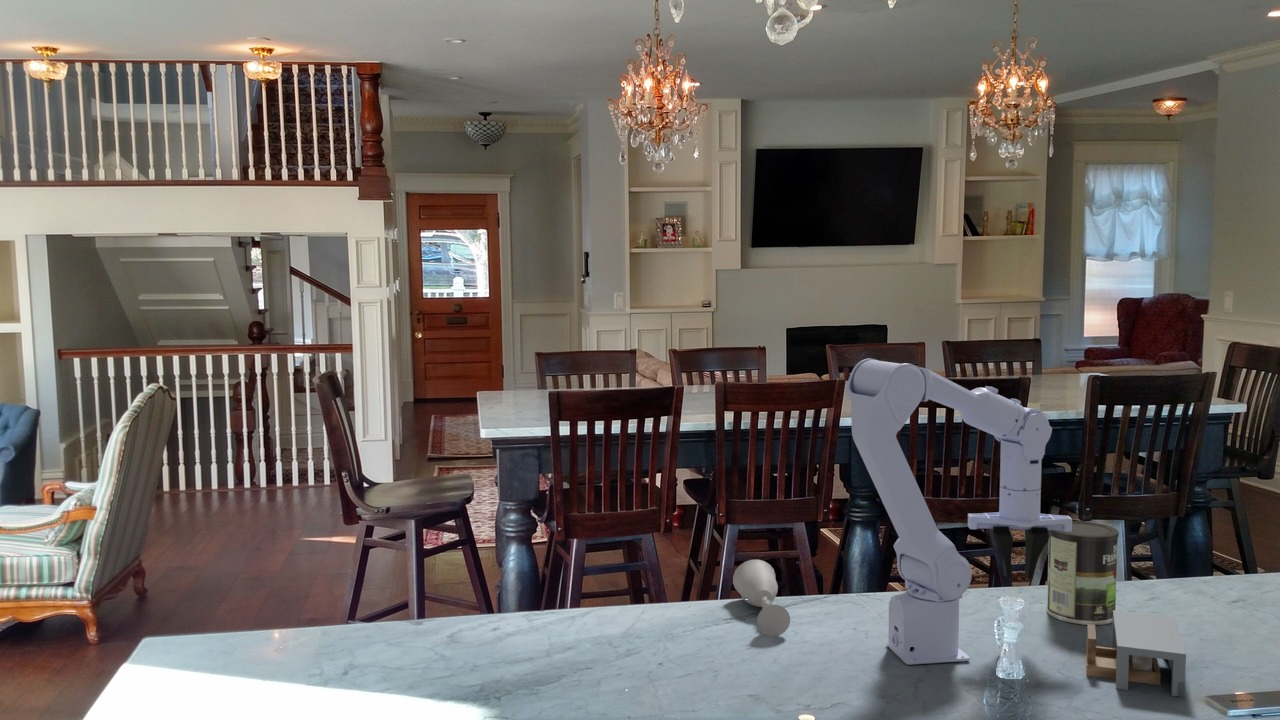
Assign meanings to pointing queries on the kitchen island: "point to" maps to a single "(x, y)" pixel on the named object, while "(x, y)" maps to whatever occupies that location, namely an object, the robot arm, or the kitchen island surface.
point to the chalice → (762, 595)
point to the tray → (1104, 662)
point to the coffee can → (1082, 573)
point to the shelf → (1148, 645)
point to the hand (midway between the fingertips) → (1018, 576)
